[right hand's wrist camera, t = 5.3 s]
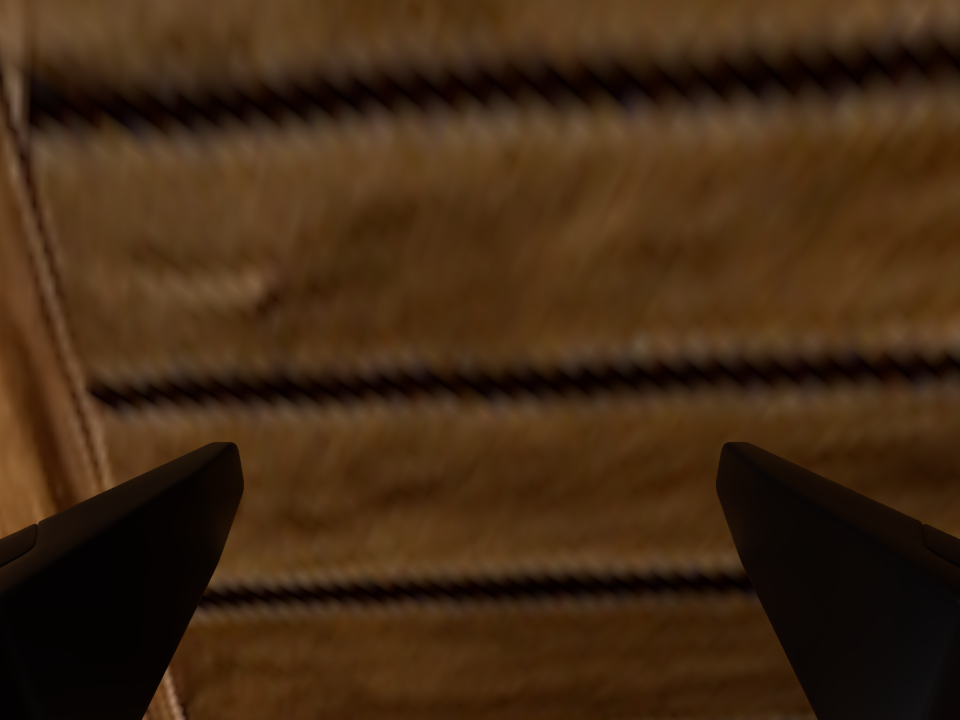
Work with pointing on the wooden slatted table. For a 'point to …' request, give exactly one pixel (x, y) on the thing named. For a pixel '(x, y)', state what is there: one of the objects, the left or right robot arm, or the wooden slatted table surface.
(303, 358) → the wooden slatted table surface
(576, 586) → the wooden slatted table surface
